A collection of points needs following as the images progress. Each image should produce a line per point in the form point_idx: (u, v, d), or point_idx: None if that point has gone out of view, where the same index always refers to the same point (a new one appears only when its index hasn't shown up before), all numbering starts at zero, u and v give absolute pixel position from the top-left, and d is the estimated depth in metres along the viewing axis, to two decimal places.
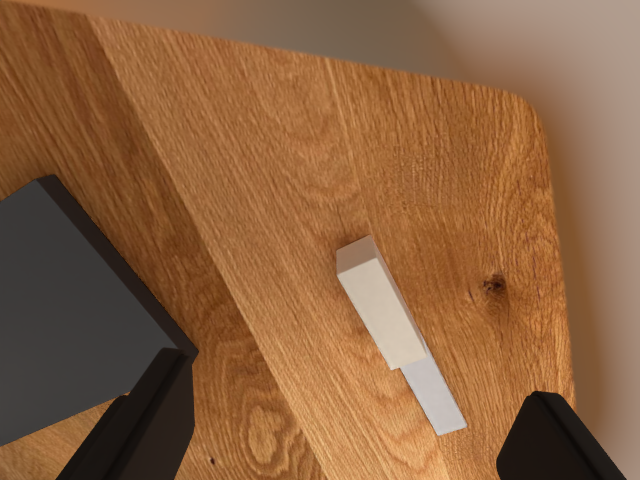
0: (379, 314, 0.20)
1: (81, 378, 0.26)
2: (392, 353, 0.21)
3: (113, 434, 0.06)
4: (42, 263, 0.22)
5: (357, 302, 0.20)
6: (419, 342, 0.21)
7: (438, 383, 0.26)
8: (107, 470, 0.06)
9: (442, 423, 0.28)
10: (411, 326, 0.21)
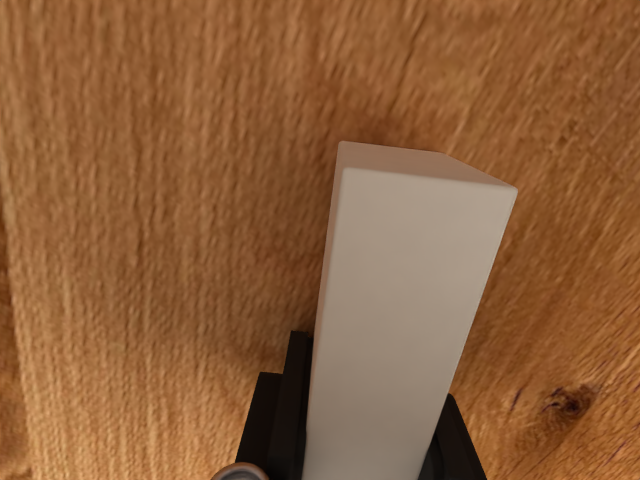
0: (374, 369, 0.06)
1: None
2: (329, 474, 0.07)
3: (289, 398, 0.08)
4: None
5: (342, 301, 0.06)
6: None
7: None
8: (297, 424, 0.07)
9: None
10: (429, 439, 0.07)
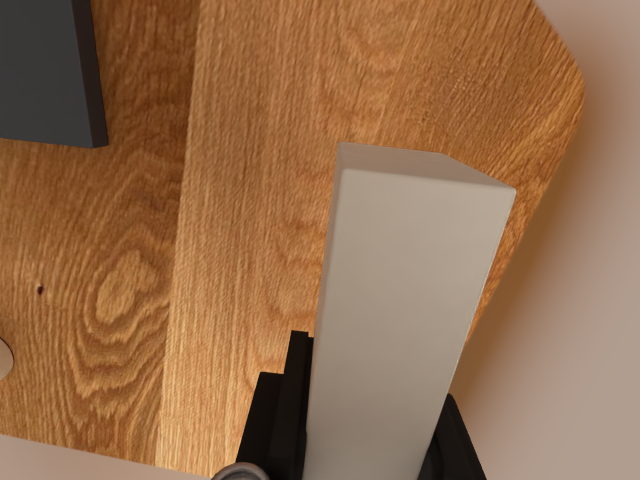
0: (374, 369, 0.06)
1: None
2: (328, 475, 0.07)
3: (289, 398, 0.08)
4: None
5: (342, 301, 0.06)
6: None
7: None
8: (298, 424, 0.07)
9: None
10: (429, 440, 0.07)
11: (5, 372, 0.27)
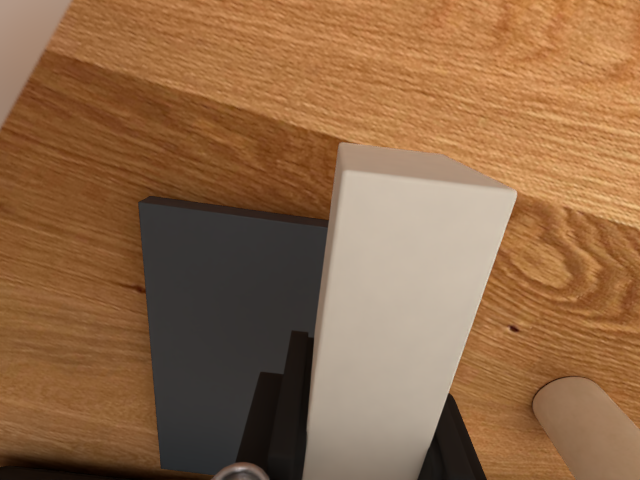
0: (374, 371, 0.06)
1: None
2: (329, 476, 0.07)
3: (289, 397, 0.08)
4: (207, 266, 0.23)
5: (342, 303, 0.06)
6: None
7: None
8: (298, 424, 0.07)
9: None
10: (429, 441, 0.07)
11: (599, 387, 0.26)
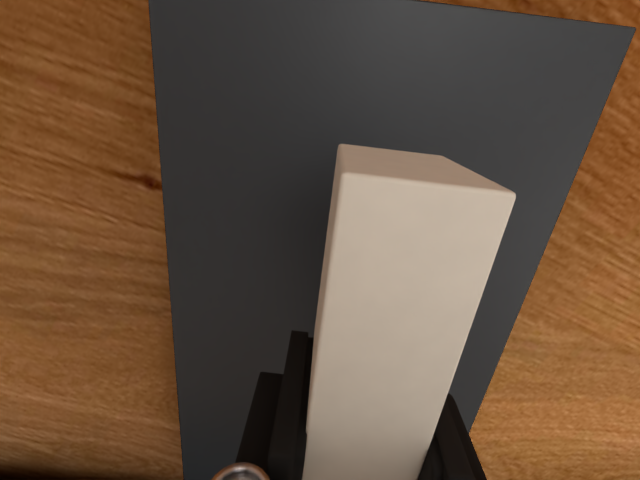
0: (374, 373, 0.06)
1: None
2: (328, 477, 0.07)
3: (289, 397, 0.08)
4: (274, 113, 0.12)
5: (342, 305, 0.06)
6: None
7: None
8: (298, 424, 0.07)
9: None
10: (428, 442, 0.07)
11: None
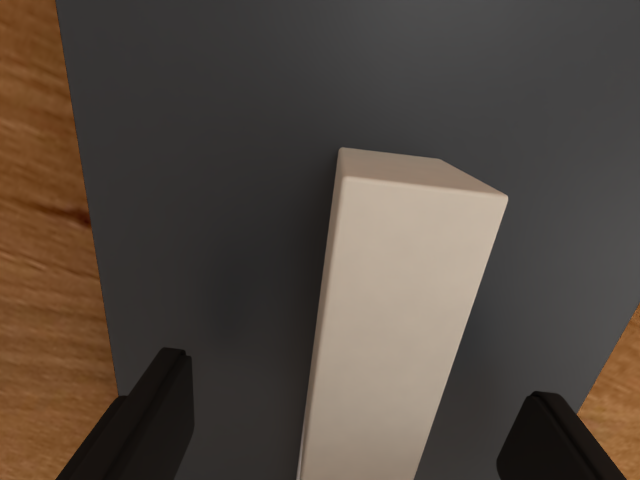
0: (373, 368, 0.06)
1: (531, 328, 0.10)
2: (329, 470, 0.08)
3: (113, 434, 0.06)
4: (247, 127, 0.08)
5: (342, 302, 0.06)
6: (411, 477, 0.08)
7: None
8: (107, 470, 0.06)
9: None
10: (426, 436, 0.07)
11: None
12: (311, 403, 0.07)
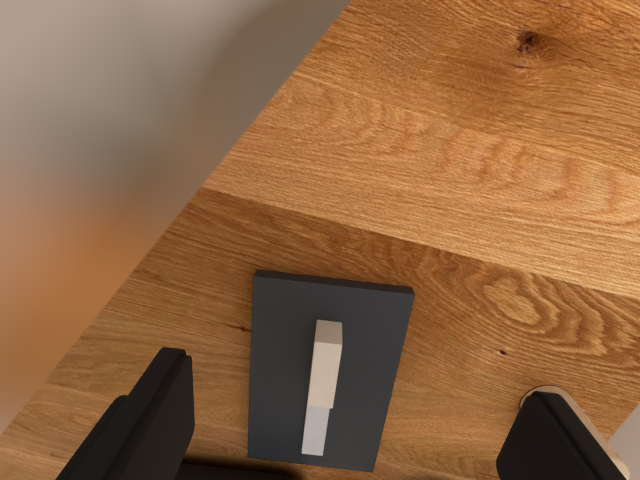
0: (322, 373, 0.32)
1: (372, 362, 0.36)
2: (314, 397, 0.33)
3: (113, 434, 0.06)
4: (294, 315, 0.34)
5: (315, 361, 0.32)
6: (333, 398, 0.33)
7: (323, 422, 0.39)
8: (107, 470, 0.06)
9: (309, 447, 0.40)
10: (335, 388, 0.33)
11: (565, 393, 0.37)
12: (310, 381, 0.33)
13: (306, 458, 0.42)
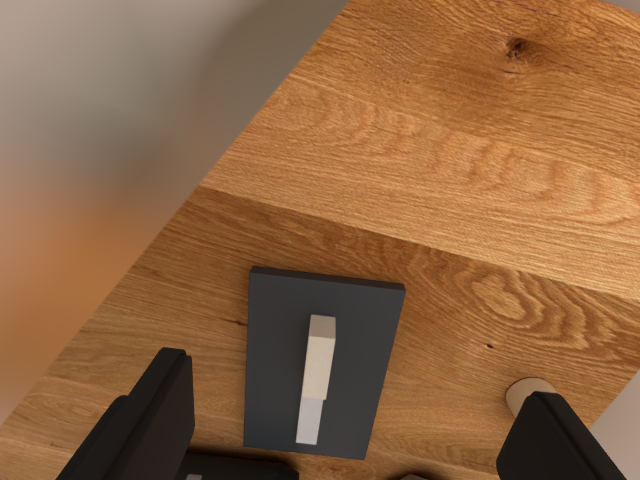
0: (316, 366, 0.34)
1: (365, 355, 0.37)
2: (308, 388, 0.35)
3: (113, 434, 0.06)
4: (289, 310, 0.35)
5: (309, 354, 0.33)
6: (326, 390, 0.35)
7: (316, 413, 0.40)
8: (107, 470, 0.06)
9: (303, 436, 0.42)
10: (328, 380, 0.34)
11: (549, 385, 0.39)
12: (304, 373, 0.34)
13: (300, 447, 0.43)
